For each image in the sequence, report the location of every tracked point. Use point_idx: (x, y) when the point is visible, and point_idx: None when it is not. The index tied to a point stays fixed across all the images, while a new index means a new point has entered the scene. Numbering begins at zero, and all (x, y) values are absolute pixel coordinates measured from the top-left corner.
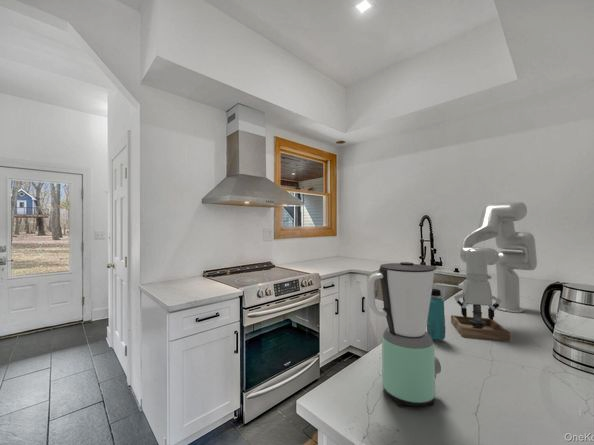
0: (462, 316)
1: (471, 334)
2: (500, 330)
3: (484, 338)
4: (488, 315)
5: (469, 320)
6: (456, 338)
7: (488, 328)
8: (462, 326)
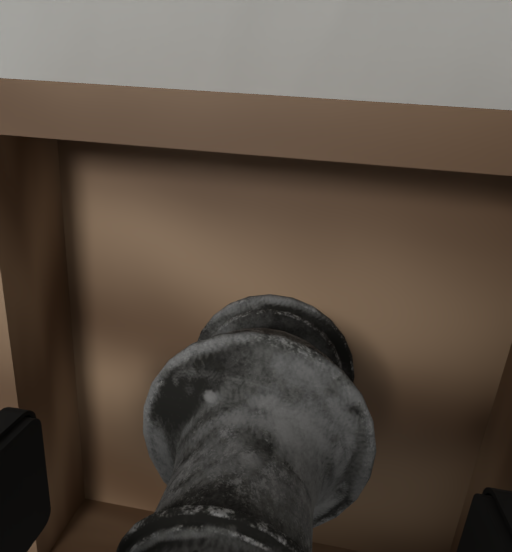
0: (120, 103)
1: None
2: None
3: None
4: (491, 535)
5: (143, 411)
6: None
7: (450, 299)
8: None
